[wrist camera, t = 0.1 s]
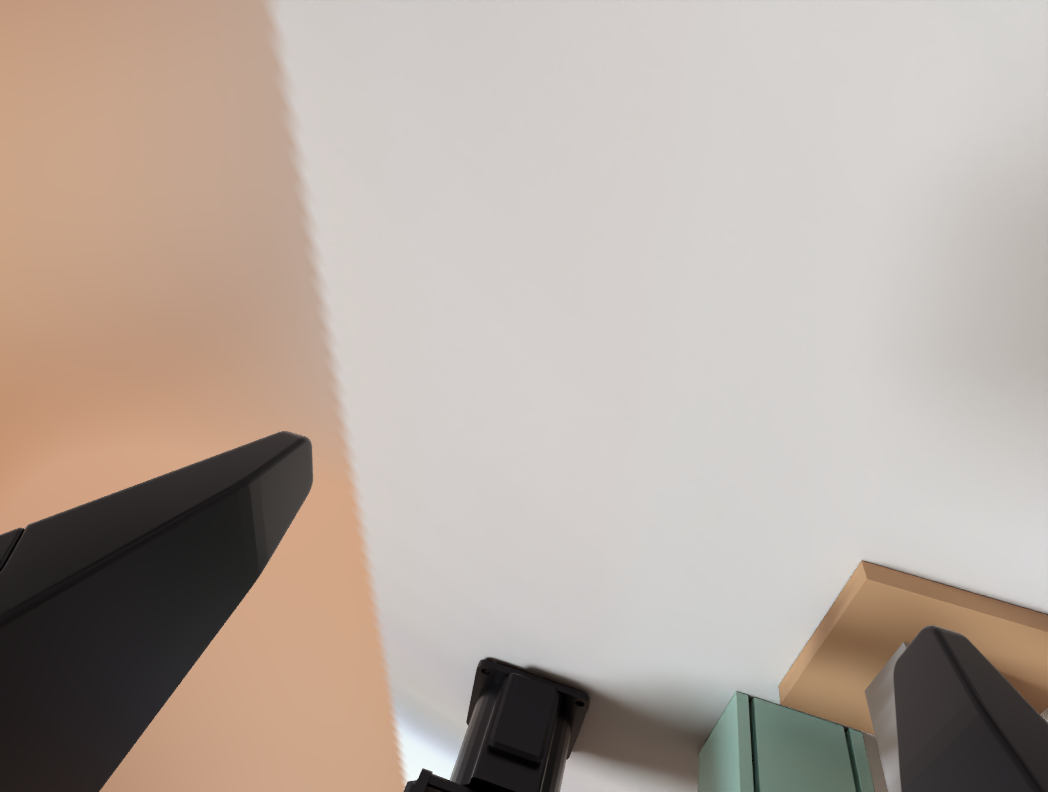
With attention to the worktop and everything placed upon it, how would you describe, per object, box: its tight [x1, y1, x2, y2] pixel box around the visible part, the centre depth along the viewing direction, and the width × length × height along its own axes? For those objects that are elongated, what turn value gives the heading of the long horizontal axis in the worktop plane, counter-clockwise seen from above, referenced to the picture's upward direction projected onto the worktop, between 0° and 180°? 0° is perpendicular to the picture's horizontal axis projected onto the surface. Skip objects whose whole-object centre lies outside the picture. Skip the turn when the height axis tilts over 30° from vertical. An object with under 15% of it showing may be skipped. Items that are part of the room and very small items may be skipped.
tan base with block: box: [779, 561, 1048, 792], centre depth 24 cm, size 9×9×8 cm
